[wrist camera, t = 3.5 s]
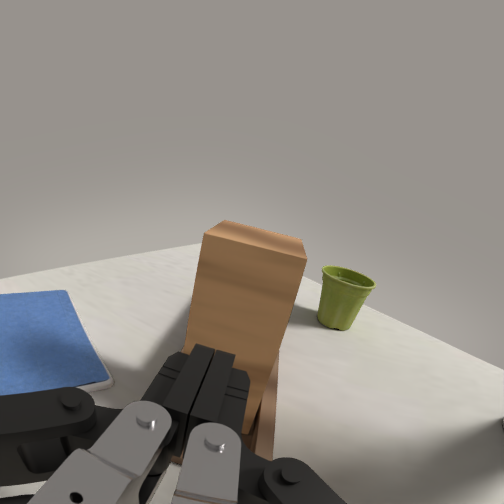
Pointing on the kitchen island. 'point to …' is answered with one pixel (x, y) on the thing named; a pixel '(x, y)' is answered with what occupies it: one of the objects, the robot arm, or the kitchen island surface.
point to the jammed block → (245, 299)
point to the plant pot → (342, 296)
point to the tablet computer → (46, 345)
